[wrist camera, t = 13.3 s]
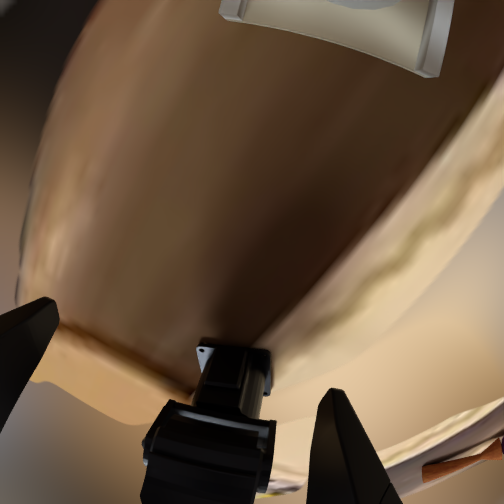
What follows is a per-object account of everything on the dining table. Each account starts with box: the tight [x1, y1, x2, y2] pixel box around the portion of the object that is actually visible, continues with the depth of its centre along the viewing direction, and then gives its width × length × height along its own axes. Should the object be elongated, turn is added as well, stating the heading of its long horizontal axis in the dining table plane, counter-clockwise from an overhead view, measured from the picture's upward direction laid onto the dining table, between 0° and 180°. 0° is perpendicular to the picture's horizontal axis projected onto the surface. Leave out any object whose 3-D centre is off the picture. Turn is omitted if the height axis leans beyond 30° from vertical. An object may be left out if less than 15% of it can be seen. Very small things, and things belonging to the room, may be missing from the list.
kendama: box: [422, 437, 504, 483], centre depth 31 cm, size 6×6×20 cm
